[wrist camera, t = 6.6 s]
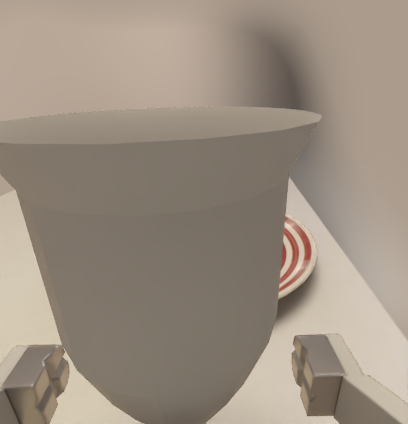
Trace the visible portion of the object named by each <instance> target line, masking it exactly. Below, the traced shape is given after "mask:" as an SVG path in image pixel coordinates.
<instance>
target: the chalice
mask: <svg viewBox="0 0 408 424" xmlns="http://www.w3.org/2000/svg"><path fill="white" fill-rule="evenodd" d="M321 118H322V115H319V114H316V113H313V112H310V111H302V110H293V109H282V108H263V107H174V108H147V109H127V110H109V111H94V112H81V113H68V114H58V115H48V116H39V117H30V118H22V119H15V120H8V121H1V122H0V174H1V175H2V176H3V177H4V178H5V180H6V181H7V182H8V183H9V184H10V185H11V186H12V187H13V188H14V189H15V190H16V192H17V195H18V199H19V202H20V205H21V209H22V212H23V215H24V219H25V222H26V225H27V229H28V232H29V235H30V239H31V242H32V246H33V249H34V252H35V256H36V259H37V262H38V266H39V269H40V272H41V276H42V279H43V282H44V286H45V289H46V292H47V296H48V299H49V302H50V306H51V309H52V312H53V316H54V319H55V322H56V326H57V329H58V332H59V336H60V339H61V342H62V345H63V347H64V348H65V350H66V352H67V354H68V355H69V357H70V359H71V360H72V362H73V364H74V365H75V367H76V369H77V371H79V372H80V373H81V374H82V375H83V376H84V377H85V378H86V379H87V380H88V381H89V382H90V383H91V384H92V385H93V386H94V387H95V388H96V389H97V390H98V391H99V392H100V393H101V394H102V395H103V396H105V397H106V398H107V399H108V400H109V401H110V402H111V403H112V404H113V405H114V406H116V407H117V408H119V409H120V410H122V411H123V412H125V413H126V414H128V415H130V416H131V417H133V418H134V419H136V420H138V421H140V422H142V423H144V424H205V423H206V422H207V421H208V420H209V419H211V418H212V417H213V416H214V415H215V414H216V413H217V412H218V411H220V410H221V409H222V408H223V407H224V406H225V405H226V404H227V403H228V402H229V401H230V399H231V398H232V397H233V396H234V395H235V393H236V392H237V391H238V390H239V389H240V387H241V386H242V385H243V384H244V382H245V381H246V379H247V377H248V376H249V374H250V373H251V371H252V369H253V368H254V366H255V364H256V363H257V361H258V359H259V358H260V356H261V354H262V353H263V351H264V349H265V348H266V346H267V344H268V343H269V339H270V336H271V333H272V329H273V326H274V323H275V319H276V316H277V307H278V295H279V283H280V272H281V260H282V248H283V237H284V225H285V214H286V202H287V190H288V179H289V170H290V169H291V167H292V165H293V164H294V162H295V161H296V159H297V157H298V156H299V154H300V152H301V151H302V149H303V147H304V146H305V144H306V142H307V141H308V139H309V137H310V136H311V134H312V133H313V131H314V129H315V128H316V126H317V124H318V123H319V121H320V119H321Z"/></svg>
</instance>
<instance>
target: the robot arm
mask: <svg viewBox="0 0 408 424" xmlns="http://www.w3.org/2000/svg"><path fill="white" fill-rule="evenodd" d="M293 345H294V347H295V351H294V352H293V353H292V360H291V361H292V370H293V374H294V378H295V381H296V383H297V384H298V385H299V386H300V387H301V394H300V396H301V399H302V402H303V405H304V408H305V411H306V414H307V416H334V418H335V419H336V420H337V421H338V422H339V424H408V403H406V402H405V401H404V400H402V399H401V398H400V397H398V396H397V395H395V394H394V393H393V392H391V391H390V390H389V389H387V388H386V387H384V386H383V385H382V384H380V383H379V382H378V381H376V380H375V379H373V378H372V377H371V376H369V375H364V374H363V372H362V370H361V368H360V367H359V365H358V363H357V362H356V360H355V358H354V357H353V355H352V353H351V352H350V350H349V348H348V347H347V345H346V343H345V341H344V340H343V338H342V336H341V335H339V334H324V335H323V334H318V335H298V336H295V337H294V341H293ZM64 353H65V351H64V348H63V345H17V346H16V347H14V348H13V349H12V350H11V351H10V352H9V354H8V355H7V357H6V358H5V359H4V361H3V362H2V363H1V365H0V424H49V423H50V421H51V419H52V417H53V414H54V412H55V410H56V408H57V406H58V403H57V399H56V398H57V397H58V396H59V395H60V394H62V393H63V392H64V390H65V388H66V385H67V383H68V378H69V364H68V361H66V360H65V359H64V358H63V355H64Z"/></svg>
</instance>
